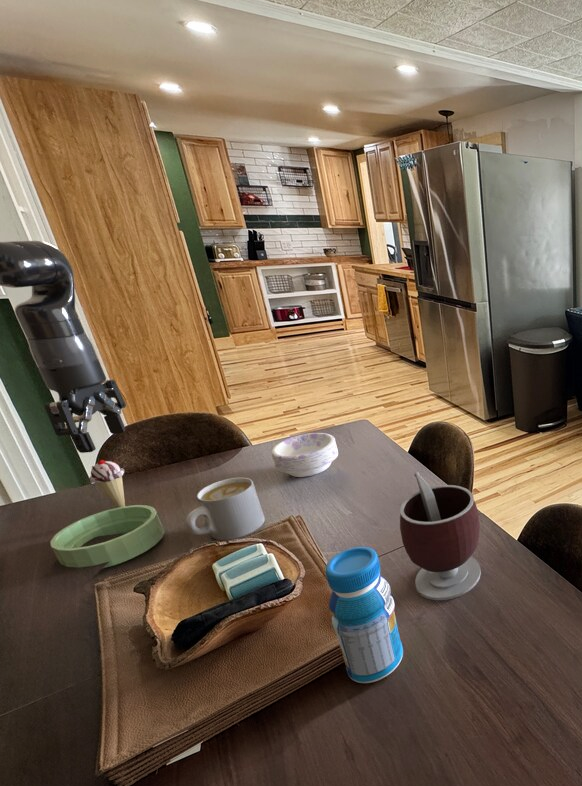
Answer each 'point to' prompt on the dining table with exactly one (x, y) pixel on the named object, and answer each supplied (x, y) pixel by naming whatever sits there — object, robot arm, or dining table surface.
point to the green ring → (127, 519)
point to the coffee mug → (227, 509)
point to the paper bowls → (305, 454)
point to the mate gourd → (441, 539)
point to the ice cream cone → (109, 480)
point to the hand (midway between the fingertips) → (104, 441)
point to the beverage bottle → (363, 615)
